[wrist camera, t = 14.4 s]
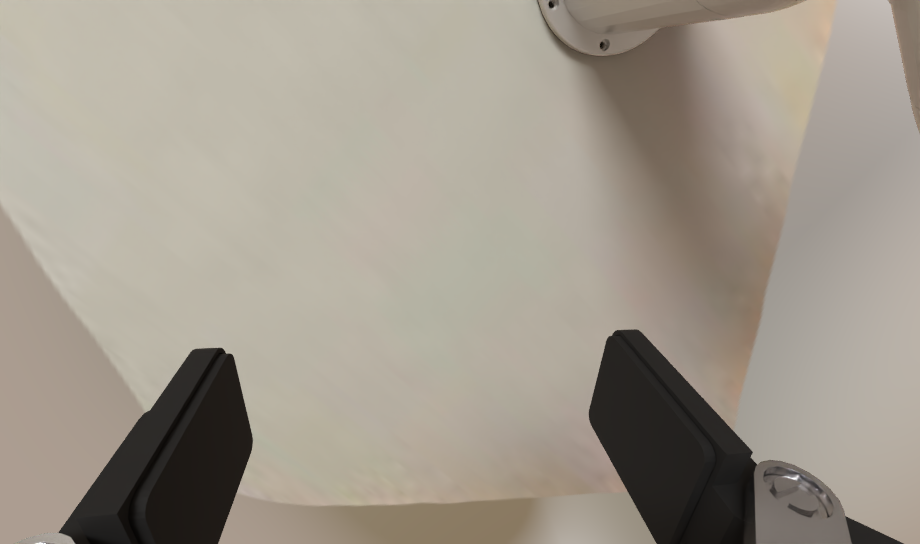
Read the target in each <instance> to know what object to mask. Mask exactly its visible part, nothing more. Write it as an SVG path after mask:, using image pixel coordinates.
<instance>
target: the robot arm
mask: <svg viewBox="0 0 920 544" xmlns="http://www.w3.org/2000/svg"><path fill="white" fill-rule="evenodd" d="M804 1H806V0H538V2H539V5H540V8H541V11H542V14H543V16H544V18H545V20H546V21H547V23H548V25H549V27H550V29H551V30H552V31H553V32H554V33H555V35H556V36H557V37H558V38H559V39H560V40H561V41H562V42H564V43H565V44H566V45H567V46H569V47H570V48H572V49H574V50H576V51H579V52H581V53H583V54H589V55H594V56H608V55H615V54H620V53H623V52H626V51H629V50H631V49H634V48H635V47H637V46H639V45H640V44H642V43H643V42H645V41H647V40H648V39H649V38H650V37H651V36H652V35H653V34H655V33H656V32H657V31H658V30H659V29H660V28H664V27H671V26H679V25H686V24H694V23H702V22H709V21H717V20H724V19H731V18H738V17H744V16H751V15H758V14H764V13H770V12H774V11H779V10H782V9H785V8H789V7H791V6H794V5H796V4H799V3H801V2H804ZM888 1H889V3H890V4H891V7H892V12H893V18H894V23H895V28H896V32H897V38H898V43H899V48H900V52H901V57H902V63H903V68H904V73H905V78H906V83H907V87H908V91H909V95H910V100H911V105H912V110H913V114H914V117H915V120H916V124H917V127H918V130H919V133H920V0H888ZM549 2H552V3H553V7H552V8H551V9H550V8H549V5H548V3H549ZM601 42H602V45H603V46H602V48H601V49H600V43H601ZM589 420H590V423H591V425H592V427H593V429H594V431H595V433H596V435H597V436H598V438H599V440H600V442H601V444H602V446H603V447H604V449H605V451H606V453H607V455H608V456H609V458H610V460H611V462H612V464H613V465H614V467H615V469H616V471H617V473H618V474H619V476H620V478H621V480H622V482H623V484H624V485H625V487H626V489H627V491H628V493H629V494H630V496H631V498H632V500H633V502H634V503H635V505H636V507H637V509H638V511H639V512H640V514H641V516H642V518H643V520H644V521H645V523H646V525H647V527H648V529H649V531H650V532H651V534H652V536H653V538H654V540H655V541H656V543H657V544H903V543H901V542H899V541H897V540H895V539H893V538H891V537H888V536H886V535H884V534H882V533H880V532H878V531H875V530H874V529H871V528H869V527H867V526H864V525H863V524H861V523H858V522H856V521H854V520H852V519H850V518H848V517H846V516H845V513H844V510H843V508H842V505H841V503H840V501H839V499H838V498H837V497H836V496H835V494H834V493H833V492H832V491H831V489H829V488H828V487H827V486H826V485H825V484H824V483H823V482H822V481H820V480H819V479H817V478H816V477H815V476H813V475H811V474H810V473H809V472H807V471H805V470H803V469H801V468H799V467H797V466H795V465H792V464H788V463H785V462H782V461H774V460H768V461H763V462H760V463H759V464H758V465H757V464H756V463H755V462H754V461H753V460H752V459H751V458H750V457H751V455H752V453H753V452H752V451H751V450H750V449H749V447H748V446H747V445H746V444H745V443H744V442H743V441H742V440H741V439H740V438H739V437H738V436H737V435H736V434H735V432H734V431H733V430H732V429H731V428H730V427H729V426H728V425H727V424H726V423H725V422H724V421H723V419H722V418H721V417H720V416H719V415H718V414H717V413H716V412H715V411H714V410H713V409H712V408H711V407H710V406H709V404H708V403H707V402H706V401H705V400H704V399H703V398H702V397H701V396H700V395H699V394H698V393H697V392H696V390H695V389H694V388H693V387H692V386H691V385H690V384H689V383H688V382H687V381H686V380H685V379H684V378H683V376H682V375H681V374H680V373H679V372H678V371H677V370H676V369H675V368H674V367H673V366H672V365H671V364H670V363H669V361H668V360H667V359H666V358H665V357H664V356H663V355H662V354H661V353H660V352H659V351H658V350H657V349H656V347H655V346H654V345H653V344H652V343H651V342H650V341H649V340H648V339H647V338H646V337H645V336H644V335H643V333H642V332H640V331H639V330H617V331H615V332H614V333H613V335H612V336H609V337H608V338H607V341H606V345H605V349H604V353H603V357H602V361H601V365H600V369H599V373H598V377H597V381H596V385H595V389H594V393H593V397H592V401H591V405H590V409H589ZM252 443H253V438H252V433H251V429H250V424H249V420H248V416H247V412H246V407H245V403H244V399H243V394H242V390H241V386H240V382H239V377H238V373H237V369H236V365H235V360H234V357H233V355H232V354H226V353H225V351H224V349H223V348H205V349H194V350H192V352H191V353H190V354H189V355H188V357H187V358H186V360H185V361H184V363H183V364H182V365H181V367H180V368H179V370H178V371H177V373H176V374H175V375H174V377H173V378H172V380H171V381H170V383H169V384H168V386H167V387H166V388H165V390H164V391H163V393H162V394H161V396H160V397H159V398H158V400H157V401H156V403H155V404H154V406H153V407H152V408H151V410H150V411H148V412H146V413H144V414H143V415H142V417H141V418H140V419H139V420H138V422H137V423H136V424H135V426H134V427H133V429H132V430H131V431H130V433H129V434H128V436H127V437H126V438H125V440H124V441H123V443H122V444H121V445H120V447H119V448H118V450H117V451H116V452H115V454H114V455H113V457H112V458H111V460H110V461H109V462H108V464H107V465H106V466H105V468H104V469H103V471H102V472H101V474H100V475H99V477H98V478H97V479H96V481H95V482H94V483H93V485H92V486H91V488H90V489H89V490H88V492H87V493H86V495H85V496H84V498H83V499H82V500H81V502H80V503H79V504H78V506H77V507H76V509H75V510H74V511H73V513H72V514H71V516H70V517H69V519H68V520H67V521H66V523H65V524H64V526H63V527H62V528H61V530H60V531H59V533H44V534H41V535H37V536H33V537H30V538H26V539H24V540H21V541H19V542H17V543H15V544H218V542H219V539H220V537H221V534H222V531H223V528H224V525H225V522H226V520H227V517H228V515H229V512H230V509H231V506H232V504H233V501H234V498H235V495H236V493H237V490H238V487H239V484H240V481H241V479H242V476H243V473H244V470H245V468H246V465H247V462H248V459H249V457H250V454H251V450H252Z"/></svg>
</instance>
